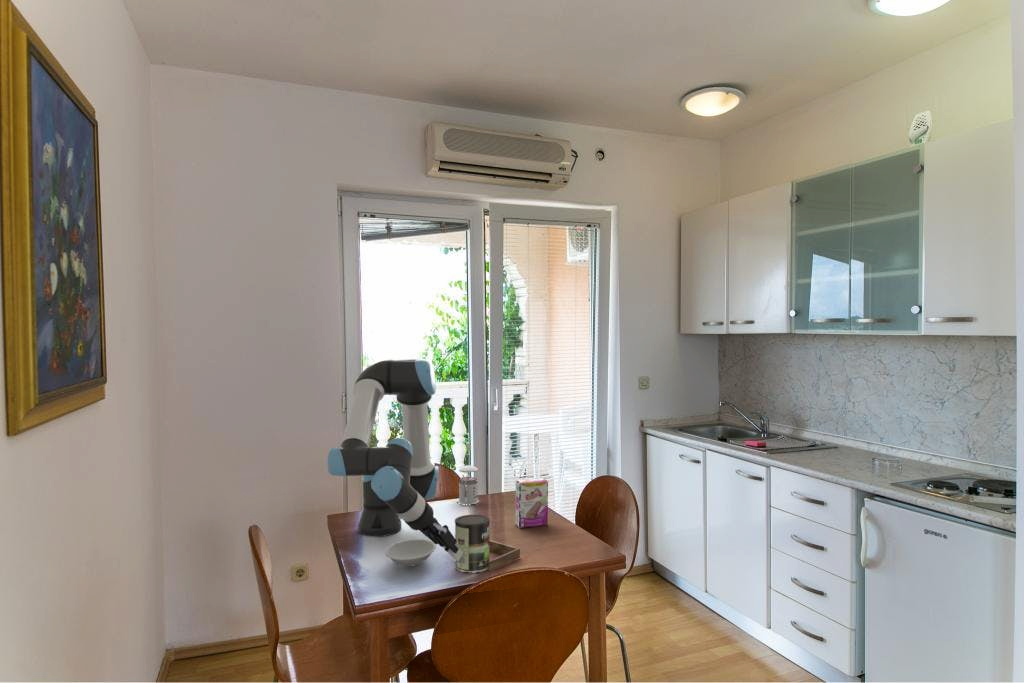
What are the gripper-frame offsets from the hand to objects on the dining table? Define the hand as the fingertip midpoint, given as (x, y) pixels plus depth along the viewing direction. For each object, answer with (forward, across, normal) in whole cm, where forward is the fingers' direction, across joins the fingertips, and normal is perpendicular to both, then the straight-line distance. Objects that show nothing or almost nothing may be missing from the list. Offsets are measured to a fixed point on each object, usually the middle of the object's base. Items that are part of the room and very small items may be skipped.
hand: (459, 556), depth 168 cm
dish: (+1, -16, -7) cm, 17 cm away
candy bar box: (+38, -11, +31) cm, 50 cm away
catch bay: (+13, -1, +6) cm, 14 cm away
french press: (+42, -50, +35) cm, 75 cm away
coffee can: (+8, -1, +1) cm, 8 cm away
